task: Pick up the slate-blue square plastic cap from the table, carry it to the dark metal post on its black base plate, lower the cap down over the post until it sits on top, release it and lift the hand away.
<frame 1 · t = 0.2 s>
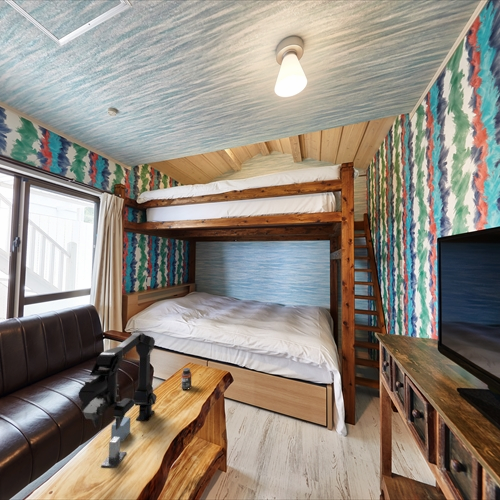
hand: (106, 427, 81), 14 cm above the table, tool pointing down, fingers open, 9 cm apart
post: (114, 459, 82), on the table
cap: (120, 436, 94), on the table
supplement bottle: (186, 388, 131), on the table
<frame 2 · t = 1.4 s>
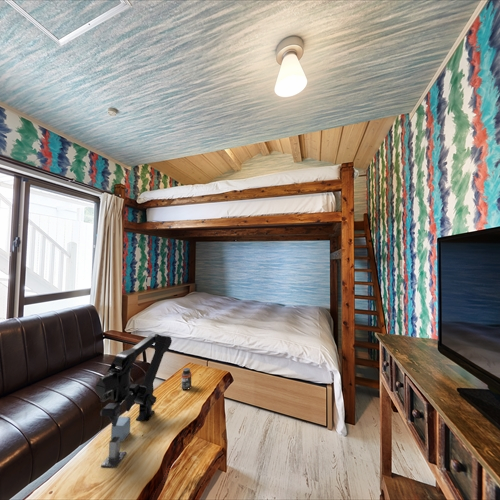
hand: (121, 418, 94), 8 cm above the table, tool pointing down, fingers open, 9 cm apart
nothing on the table moved.
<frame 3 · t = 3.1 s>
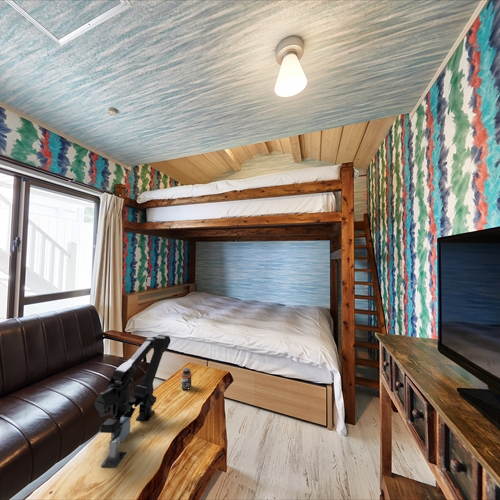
hand: (120, 433, 94), 1 cm above the table, tool pointing down, fingers closed on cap, 5 cm apart
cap: (120, 436, 94), on the table, touching gripper
everything else where it was.
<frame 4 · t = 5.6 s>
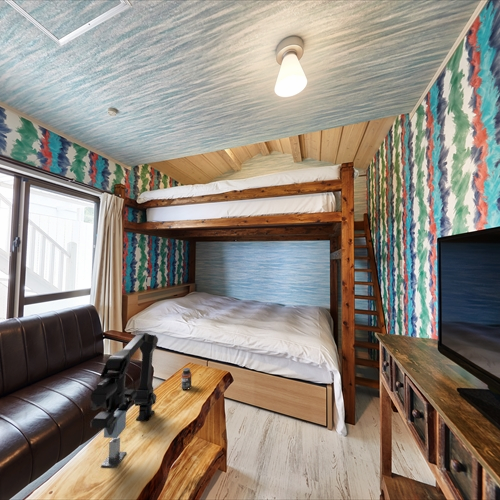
hand: (115, 428, 83), 12 cm above the table, tool pointing down, fingers closed on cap, 5 cm apart
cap: (114, 432, 83), point 10 cm above the table, touching gripper
everything else where it was.
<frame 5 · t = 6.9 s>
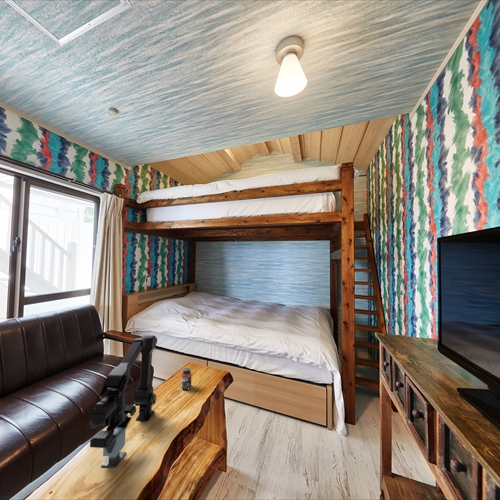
hand: (114, 446, 83), 5 cm above the table, tool pointing down, fingers closed on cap, 5 cm apart
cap: (114, 450, 83), point 4 cm above the table, touching gripper
everything else where it was.
when the fingers open (3 cm above the table, at t = 8.2 s): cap stays where it is, resting on post.
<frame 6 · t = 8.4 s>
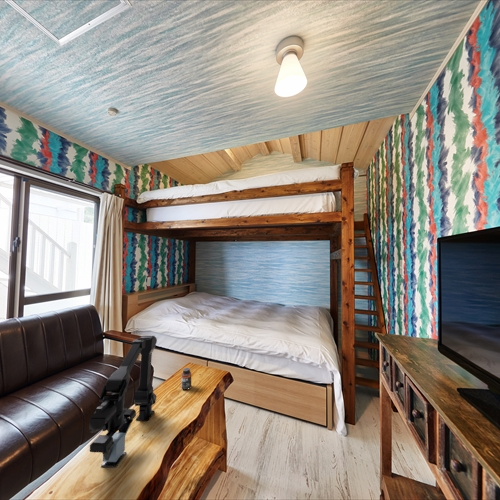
hand: (114, 450, 83), 3 cm above the table, tool pointing down, fingers open, 7 cm apart
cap: (114, 455, 83), point 2 cm above the table, touching post
everything else where it was.
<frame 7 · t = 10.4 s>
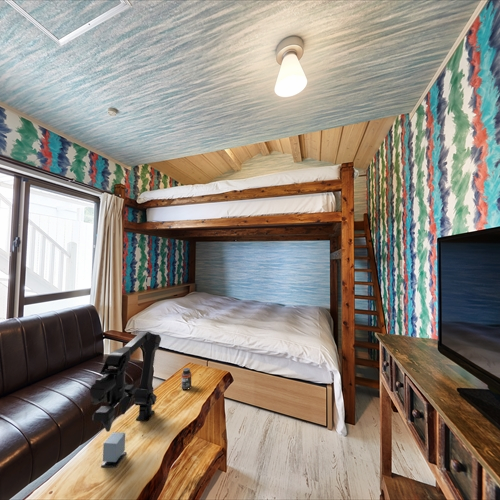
hand: (116, 422, 87), 12 cm above the table, tool pointing down, fingers open, 9 cm apart
nothing on the table moved.
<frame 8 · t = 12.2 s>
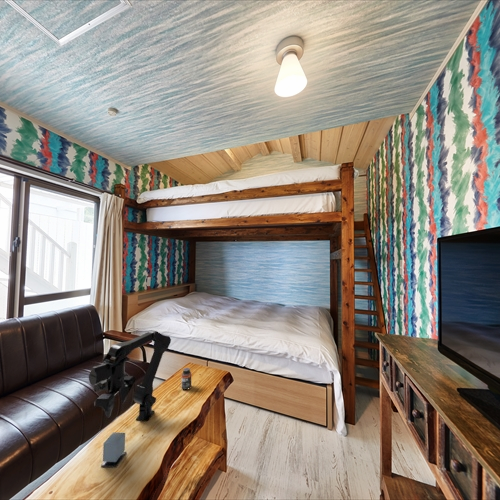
hand: (115, 409, 94), 12 cm above the table, tool pointing down, fingers open, 9 cm apart
nothing on the table moved.
at the end: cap 0.1 cm from the post (horizontally); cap point 1.6 cm above the table; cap tilted 0° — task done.
